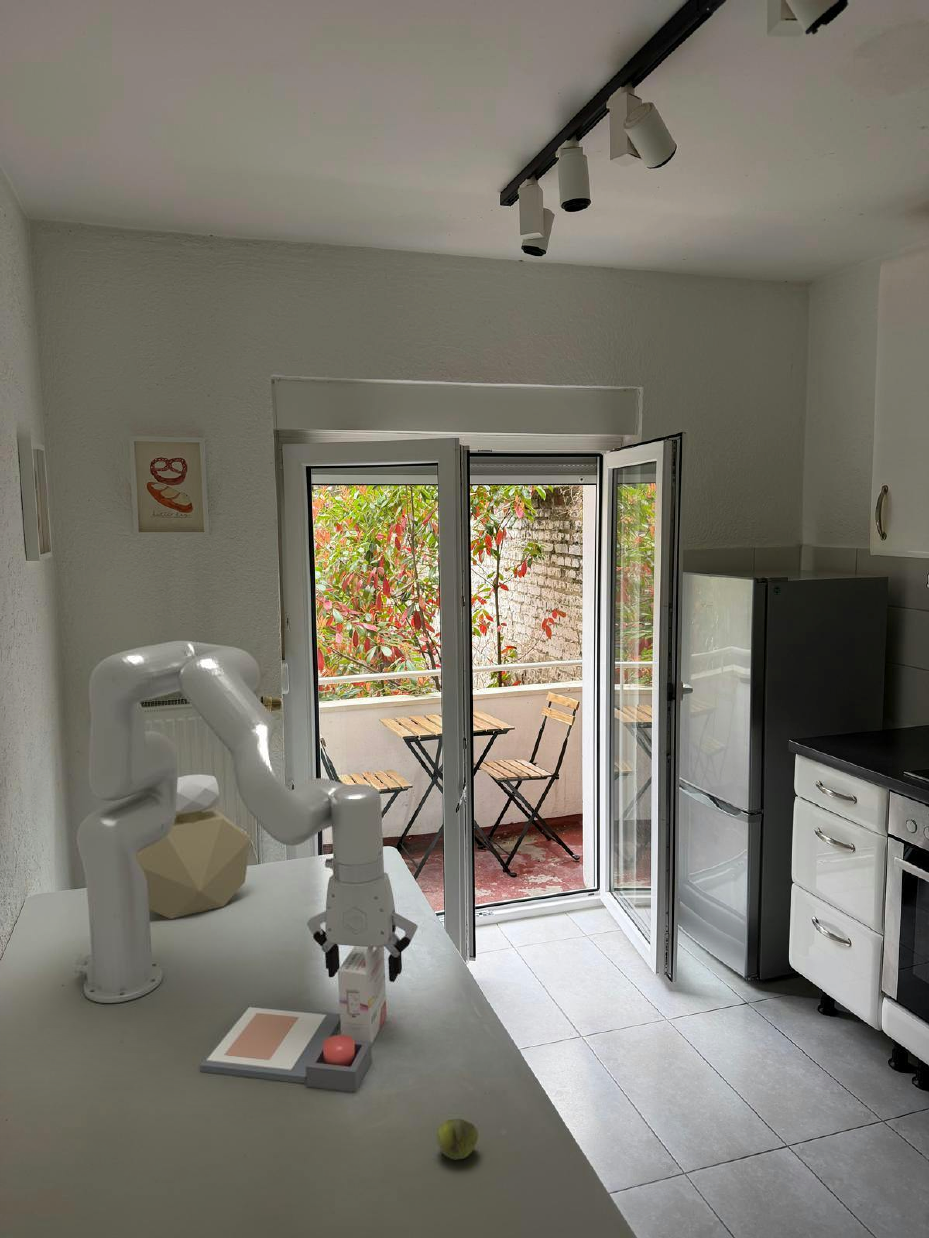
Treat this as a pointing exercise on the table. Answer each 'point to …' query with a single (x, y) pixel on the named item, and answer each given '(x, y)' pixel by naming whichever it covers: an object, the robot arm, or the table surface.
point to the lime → (457, 1138)
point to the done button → (339, 1050)
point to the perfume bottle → (195, 854)
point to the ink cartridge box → (362, 993)
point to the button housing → (339, 1069)
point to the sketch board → (271, 1043)
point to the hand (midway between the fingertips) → (364, 975)
